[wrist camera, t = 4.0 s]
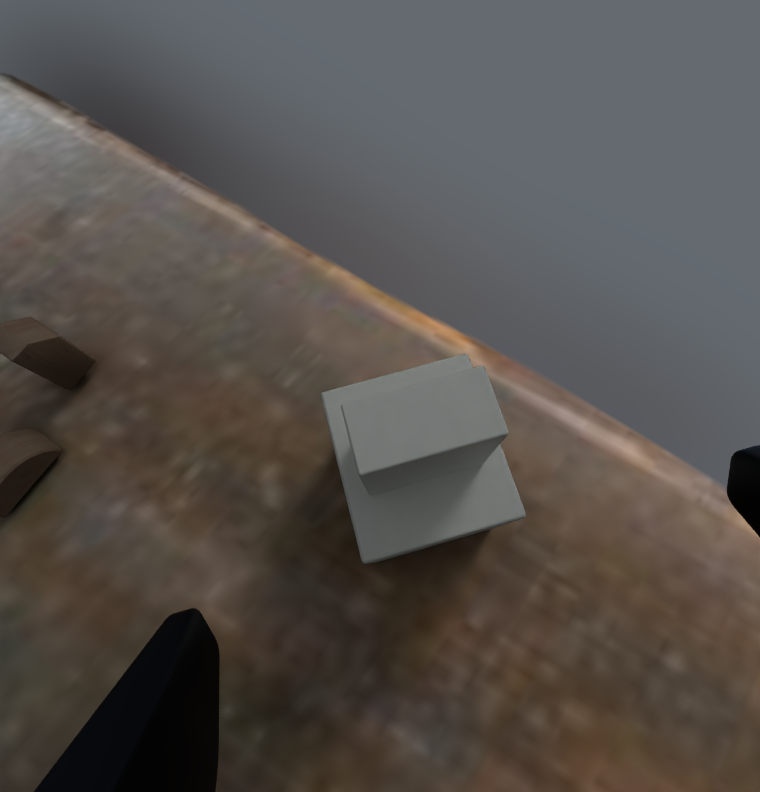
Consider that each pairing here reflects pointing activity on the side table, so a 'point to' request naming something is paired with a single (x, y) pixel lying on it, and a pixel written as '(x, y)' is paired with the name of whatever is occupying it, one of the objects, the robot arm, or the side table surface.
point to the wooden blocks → (54, 360)
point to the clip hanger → (421, 457)
